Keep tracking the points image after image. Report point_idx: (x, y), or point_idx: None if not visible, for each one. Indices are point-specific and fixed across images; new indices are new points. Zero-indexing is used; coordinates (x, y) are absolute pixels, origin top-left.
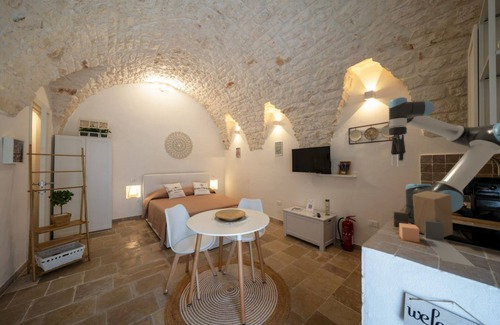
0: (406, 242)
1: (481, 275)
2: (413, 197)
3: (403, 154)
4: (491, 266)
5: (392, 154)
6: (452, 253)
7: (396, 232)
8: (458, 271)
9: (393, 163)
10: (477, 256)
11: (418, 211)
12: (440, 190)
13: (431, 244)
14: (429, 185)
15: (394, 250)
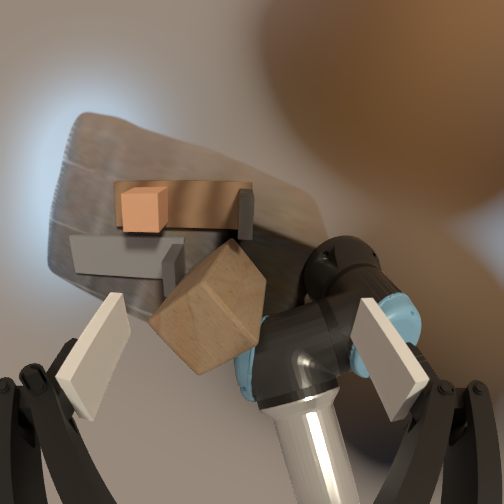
0: (120, 193)
1: (64, 269)
2: (203, 277)
3: (77, 411)
4: (102, 297)
5: (432, 385)
6: (107, 262)
7: (185, 183)
8: (58, 244)
9: (367, 322)
10: (132, 298)
11: (206, 266)
12: (261, 376)
13: (135, 242)
14: (354, 372)
15: (82, 163)
